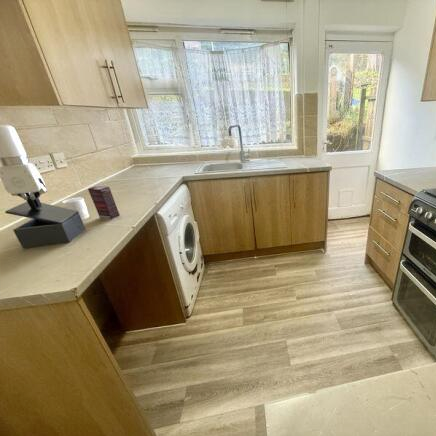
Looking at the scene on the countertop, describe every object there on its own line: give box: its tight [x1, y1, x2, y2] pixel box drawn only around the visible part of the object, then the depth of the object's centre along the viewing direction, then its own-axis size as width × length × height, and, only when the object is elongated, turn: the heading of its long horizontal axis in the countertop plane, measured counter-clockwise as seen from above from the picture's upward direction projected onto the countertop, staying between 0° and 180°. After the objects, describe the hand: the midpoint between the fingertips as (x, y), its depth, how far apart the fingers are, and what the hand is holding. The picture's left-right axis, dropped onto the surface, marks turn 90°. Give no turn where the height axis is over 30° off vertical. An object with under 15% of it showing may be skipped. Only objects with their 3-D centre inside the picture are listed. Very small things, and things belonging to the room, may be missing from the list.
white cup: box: [61, 196, 90, 221], centre depth 120 cm, size 8×8×10 cm
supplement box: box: [87, 185, 121, 220], centre depth 119 cm, size 9×5×16 cm, turn 71°
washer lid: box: [5, 201, 78, 224], centre depth 97 cm, size 16×13×1 cm
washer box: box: [12, 213, 86, 250], centre depth 100 cm, size 16×13×9 cm
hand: (37, 208), depth 96 cm, fingers closed
